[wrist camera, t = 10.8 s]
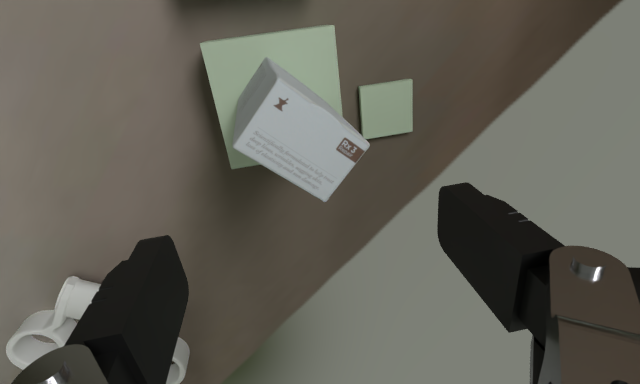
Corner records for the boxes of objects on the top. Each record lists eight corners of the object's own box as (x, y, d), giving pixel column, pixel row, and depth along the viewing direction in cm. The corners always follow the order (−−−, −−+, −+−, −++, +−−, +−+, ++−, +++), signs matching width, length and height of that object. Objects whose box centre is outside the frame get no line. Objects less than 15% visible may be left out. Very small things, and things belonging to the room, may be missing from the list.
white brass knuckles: (213, 303, 41) (175, 385, 46) (39, 259, 36) (16, 358, 41) (209, 324, 38) (169, 410, 43) (19, 281, 33) (-3, 385, 38)
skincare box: (236, 101, 28) (221, 151, 17) (267, 52, 27) (273, 72, 16) (299, 143, 30) (322, 211, 19) (331, 99, 29) (374, 145, 18)
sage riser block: (325, 24, 30) (334, 25, 27) (336, 137, 35) (345, 150, 31) (207, 41, 29) (199, 43, 26) (234, 153, 34) (231, 169, 30)
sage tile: (409, 78, 33) (412, 79, 33) (410, 129, 35) (412, 131, 35) (358, 86, 33) (359, 87, 32) (361, 137, 35) (363, 139, 34)
